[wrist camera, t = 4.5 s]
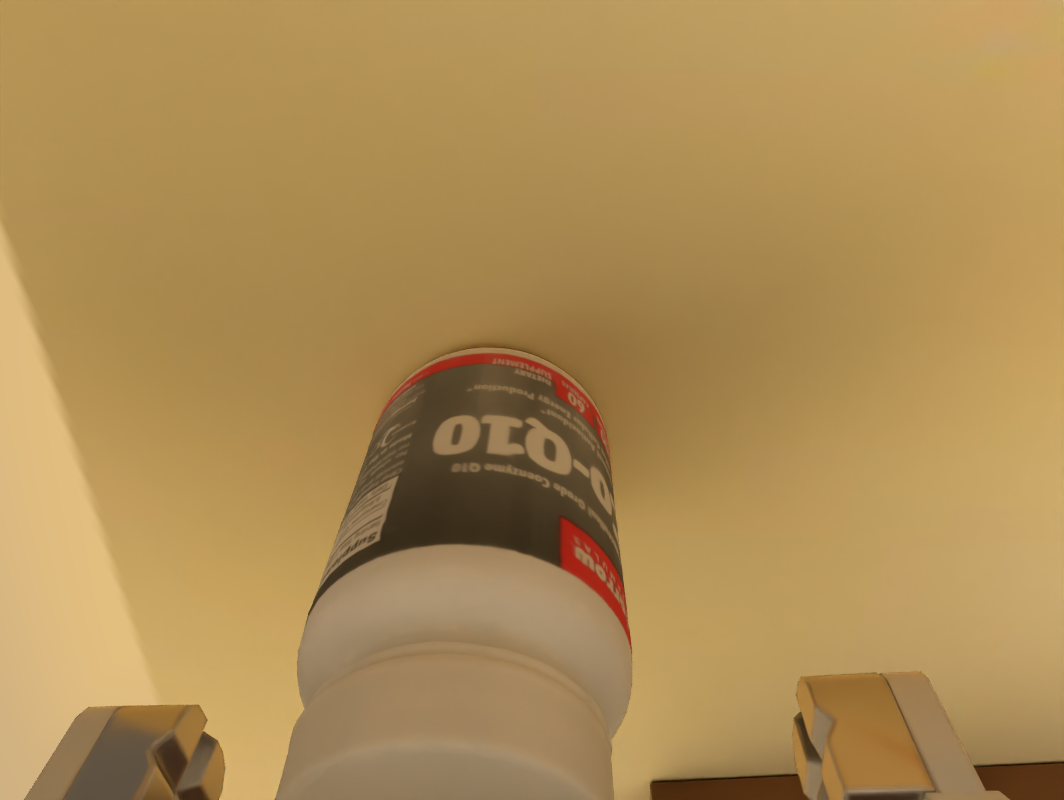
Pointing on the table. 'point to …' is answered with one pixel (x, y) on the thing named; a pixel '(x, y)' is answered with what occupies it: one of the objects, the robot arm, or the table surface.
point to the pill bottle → (470, 599)
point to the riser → (1034, 791)
